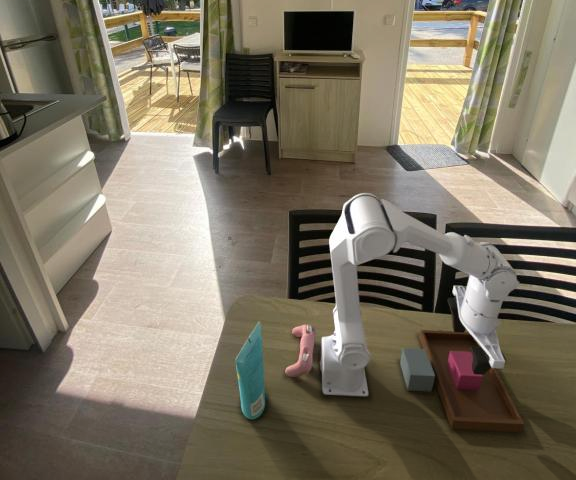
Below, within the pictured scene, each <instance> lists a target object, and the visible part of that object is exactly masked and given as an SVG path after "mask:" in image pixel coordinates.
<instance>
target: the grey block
mask: <svg viewBox="0 0 576 480" xmlns="http://www.w3.org/2000/svg"><path fill="white" fill-rule="evenodd" d="M399 364H400V368H401V372H402V375H403V378H404V383H405V386H406V389H407V391H413V392H414V391H415V392H432V391H433V386H434V383H435V381H434V379H435V374H434V372H433V369H432V366H431V363H430V360H429V358H428V355H427V352H426V349H423V348H413V347H412V348H410V347H402V351H401V355H400V361H399Z"/></svg>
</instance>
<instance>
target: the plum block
mask: <svg viewBox="0 0 576 480" xmlns="http://www.w3.org/2000/svg"><path fill="white" fill-rule="evenodd" d="M472 362H473V355H472V353H471V352H465V351H450V354H449V358H448V362H447V366H448V368H449V371H450V373H451V376H452V378H453V381H454V383H455V386H456V388H457V389H462V390H479V387H480V384H481V381H482V378H483V376H482V375H479V374H474V373H473V371H472Z"/></svg>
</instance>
